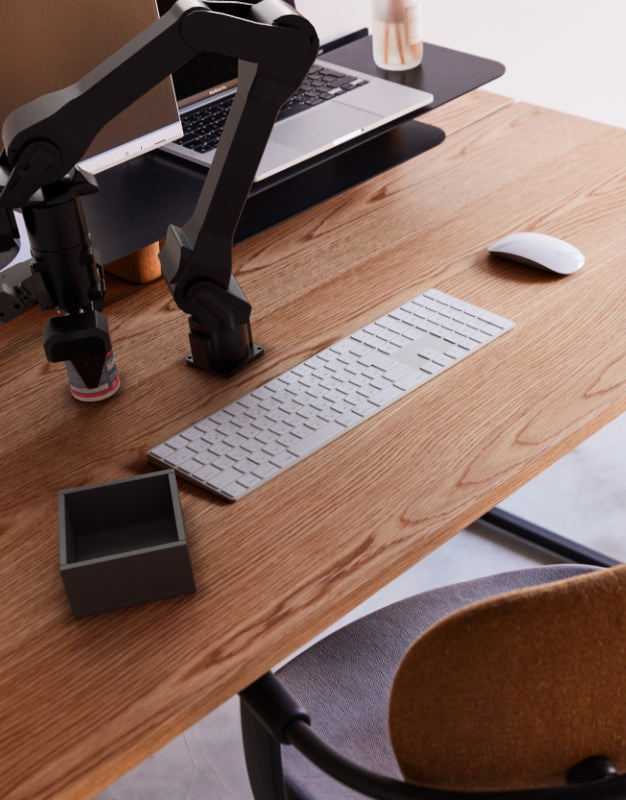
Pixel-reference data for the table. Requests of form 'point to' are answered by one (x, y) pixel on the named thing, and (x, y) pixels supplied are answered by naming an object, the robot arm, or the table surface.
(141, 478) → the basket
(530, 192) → the table surface
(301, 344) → the table surface
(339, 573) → the table surface
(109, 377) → the pill bottle
